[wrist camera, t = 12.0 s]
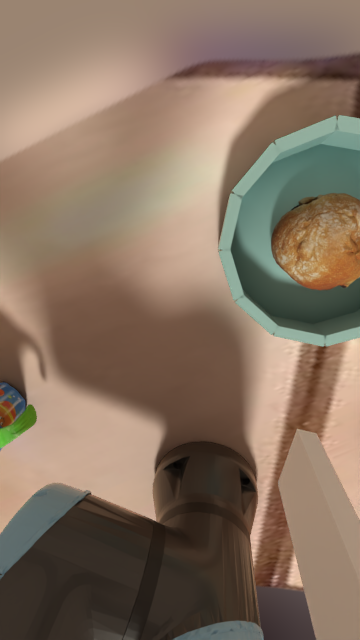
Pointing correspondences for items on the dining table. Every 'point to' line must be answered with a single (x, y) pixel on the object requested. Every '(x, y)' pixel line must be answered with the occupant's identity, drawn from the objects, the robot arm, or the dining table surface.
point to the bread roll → (320, 241)
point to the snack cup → (13, 414)
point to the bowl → (265, 212)
